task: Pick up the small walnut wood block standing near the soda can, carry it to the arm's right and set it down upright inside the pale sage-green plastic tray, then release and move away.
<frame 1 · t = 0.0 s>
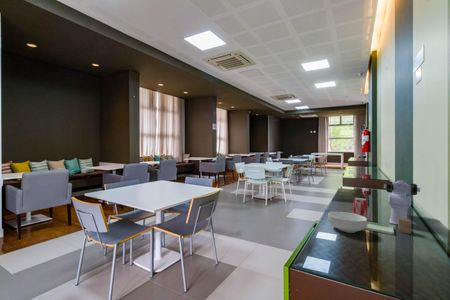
hand: (402, 188, 107), 22 cm above the counter, tool horizontal, fingers open, 7 cm apart
soda can: (359, 219, 127), on the counter
walnut block: (404, 231, 110), on the counter
tray: (378, 228, 112), on the counter
cereal bowl: (346, 230, 109), on the counter
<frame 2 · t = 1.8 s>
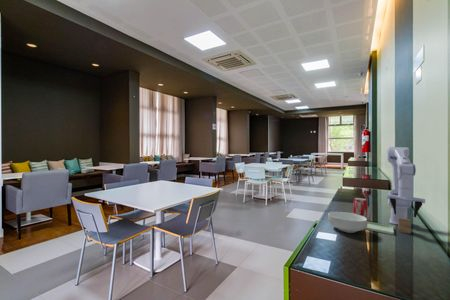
hand: (404, 215, 110), 8 cm above the counter, tool pointing down, fingers open, 7 cm apart
nothing on the counter moved.
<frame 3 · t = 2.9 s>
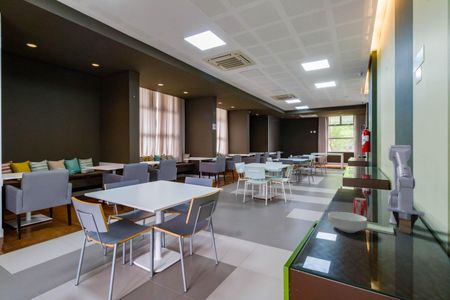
hand: (404, 228, 110), 2 cm above the counter, tool pointing down, fingers closed on walnut block, 4 cm apart
walnut block: (404, 231, 110), on the counter, touching gripper
everything else where it was.
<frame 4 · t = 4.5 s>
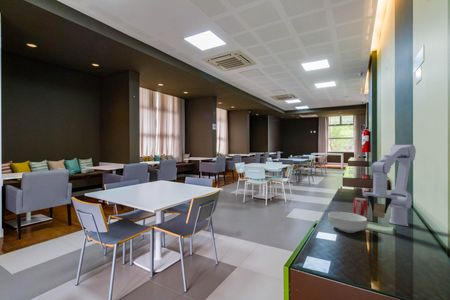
hand: (379, 212, 112), 9 cm above the counter, tool pointing down, fingers closed on walnut block, 4 cm apart
walnut block: (378, 216, 112), point 7 cm above the counter, touching gripper
everything else where it was.
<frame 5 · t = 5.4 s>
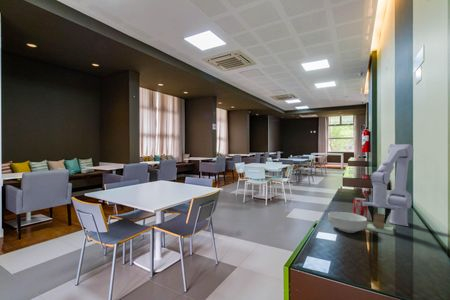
hand: (378, 222, 112), 3 cm above the counter, tool pointing down, fingers closed on walnut block, 4 cm apart
walnut block: (378, 226, 112), point 1 cm above the counter, touching gripper
everything else where it was.
when the fingers open (3 cm above the counter, at t = 5.9 s): walnut block stays where it is, resting on tray.
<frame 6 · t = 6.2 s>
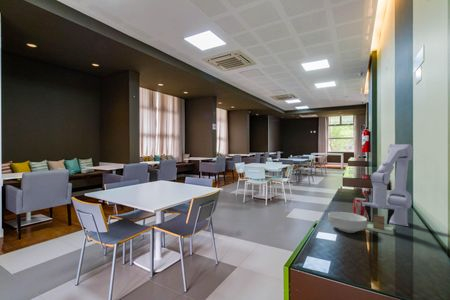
hand: (378, 222, 112), 3 cm above the counter, tool pointing down, fingers open, 7 cm apart
walnut block: (378, 228, 112), resting on tray
everything else where it was.
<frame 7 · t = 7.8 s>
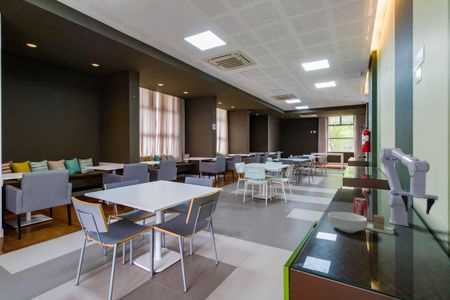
hand: (416, 212, 109), 10 cm above the counter, tool pointing down, fingers open, 7 cm apart
nothing on the counter moved.
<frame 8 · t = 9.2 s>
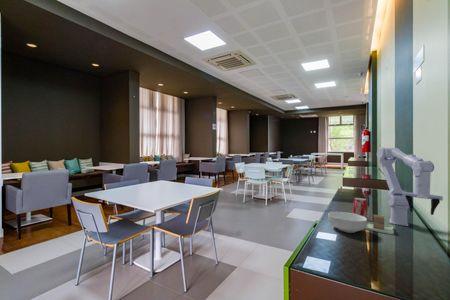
hand: (421, 212, 108), 10 cm above the counter, tool pointing down, fingers open, 7 cm apart
nothing on the counter moved.
at the end: walnut block inside the target area on the tray (0.2 cm from its centre), point 0.4 cm above the tray's base; walnut block tilted 0°; the gripper is holding nothing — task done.
